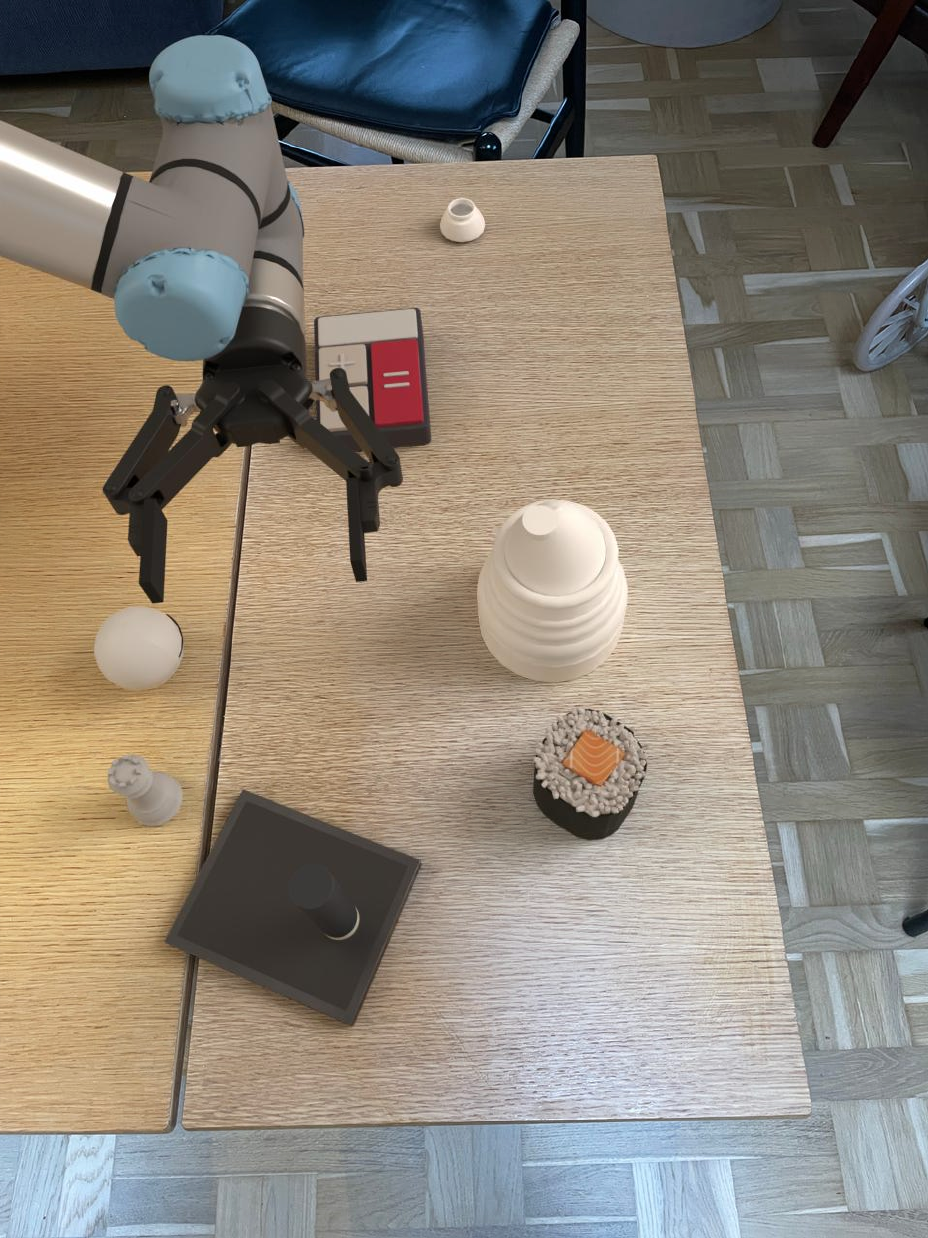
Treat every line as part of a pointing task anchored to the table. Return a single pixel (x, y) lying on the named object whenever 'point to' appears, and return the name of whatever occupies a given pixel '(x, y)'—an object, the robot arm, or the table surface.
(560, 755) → the sushi
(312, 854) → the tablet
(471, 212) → the lidless jar
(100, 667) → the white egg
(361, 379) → the calculator
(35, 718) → the table surface
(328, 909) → the marker
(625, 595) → the honey pot
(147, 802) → the rook chess piece
